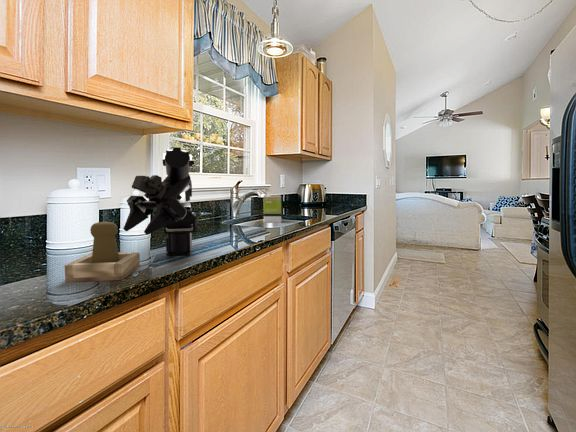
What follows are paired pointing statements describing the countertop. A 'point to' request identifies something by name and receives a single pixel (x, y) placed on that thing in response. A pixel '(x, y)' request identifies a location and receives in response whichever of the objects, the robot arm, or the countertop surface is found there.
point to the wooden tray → (101, 268)
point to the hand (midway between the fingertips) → (134, 231)
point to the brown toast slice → (104, 242)
